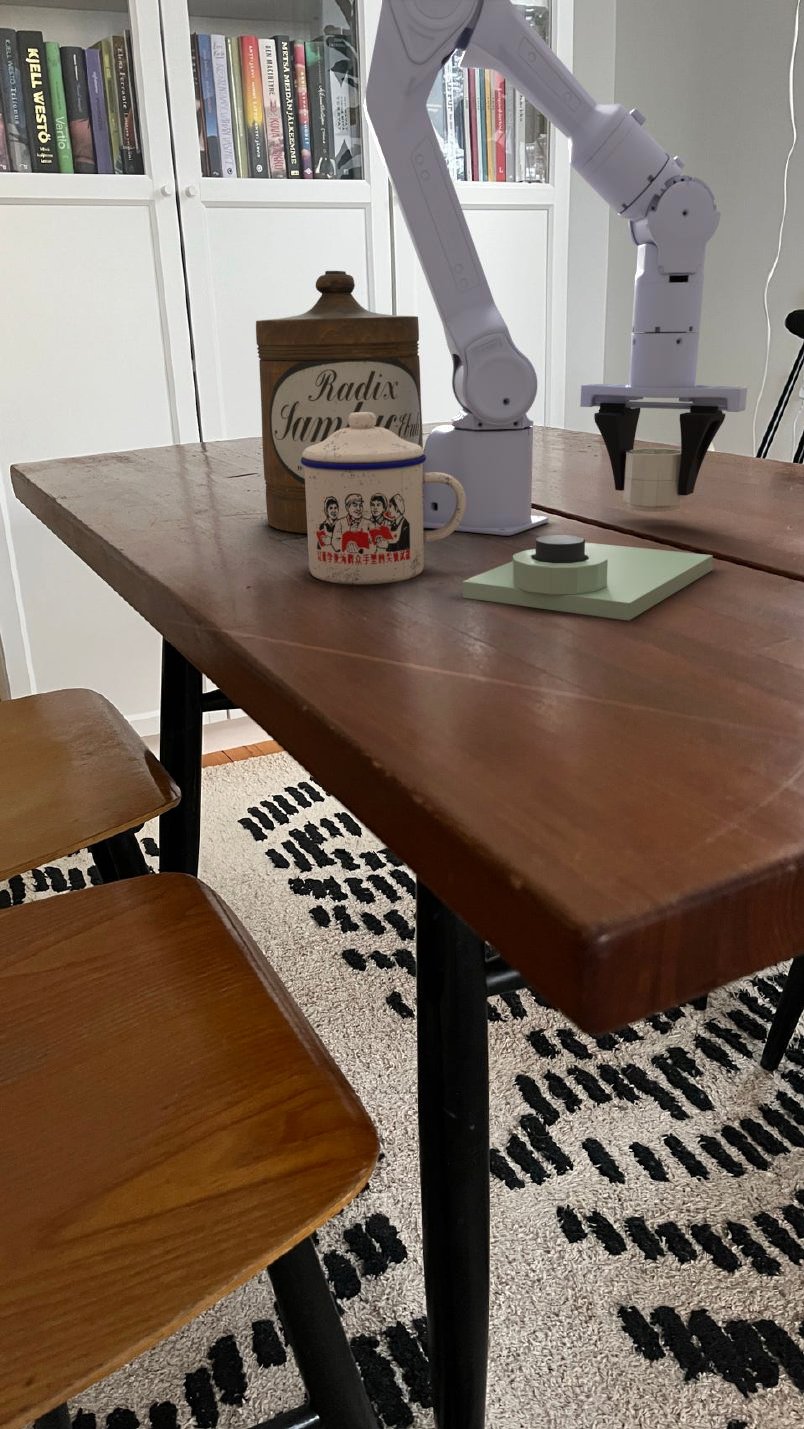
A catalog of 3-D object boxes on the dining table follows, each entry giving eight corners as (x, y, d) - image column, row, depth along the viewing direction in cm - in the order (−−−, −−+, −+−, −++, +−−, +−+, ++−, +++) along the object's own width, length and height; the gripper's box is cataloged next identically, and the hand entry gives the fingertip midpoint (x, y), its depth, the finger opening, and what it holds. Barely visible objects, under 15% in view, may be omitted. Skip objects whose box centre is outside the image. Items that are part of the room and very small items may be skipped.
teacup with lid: (302, 588, 75) (293, 419, 71) (310, 561, 84) (303, 409, 80) (469, 584, 75) (470, 416, 71) (461, 558, 84) (461, 406, 80)
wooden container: (278, 540, 92) (262, 267, 84) (258, 513, 106) (242, 275, 98) (442, 529, 95) (440, 265, 88) (402, 504, 109) (397, 273, 101)
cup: (613, 509, 96) (616, 453, 94) (636, 500, 100) (639, 446, 98) (670, 514, 93) (675, 456, 91) (691, 505, 97) (696, 449, 96)
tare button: (571, 569, 68) (572, 545, 67) (526, 564, 69) (527, 541, 69) (592, 560, 70) (593, 537, 70) (548, 555, 72) (549, 533, 71)
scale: (625, 623, 65) (628, 576, 64) (458, 600, 71) (458, 556, 70) (711, 571, 78) (715, 530, 77) (563, 555, 84) (564, 517, 83)
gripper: (763, 331, 91) (747, 491, 95) (605, 332, 98) (598, 480, 103) (738, 333, 85) (722, 502, 90) (573, 334, 93) (567, 490, 97)
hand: (654, 491), depth 96 cm, fingers closed on cup, 5 cm apart
